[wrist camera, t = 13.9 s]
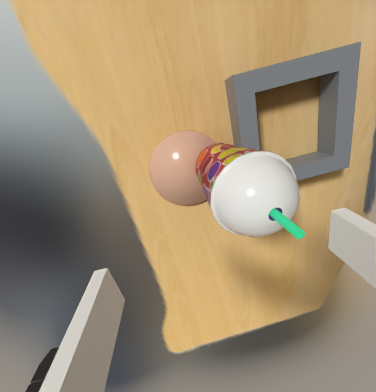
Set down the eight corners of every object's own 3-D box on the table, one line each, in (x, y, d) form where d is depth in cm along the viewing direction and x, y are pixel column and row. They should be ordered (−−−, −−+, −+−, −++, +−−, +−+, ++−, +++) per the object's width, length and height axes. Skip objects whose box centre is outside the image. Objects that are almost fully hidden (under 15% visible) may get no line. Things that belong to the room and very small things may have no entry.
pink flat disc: (138, 142, 29) (138, 142, 28) (217, 121, 29) (218, 121, 28) (161, 211, 34) (161, 213, 33) (229, 194, 33) (230, 195, 33)
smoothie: (245, 178, 32) (360, 259, 14) (198, 196, 32) (251, 300, 14) (233, 128, 29) (364, 147, 11) (181, 148, 29) (220, 202, 11)
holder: (224, 80, 27) (232, 75, 24) (337, 50, 27) (361, 41, 24) (239, 185, 33) (247, 193, 30) (331, 162, 33) (349, 167, 30)
